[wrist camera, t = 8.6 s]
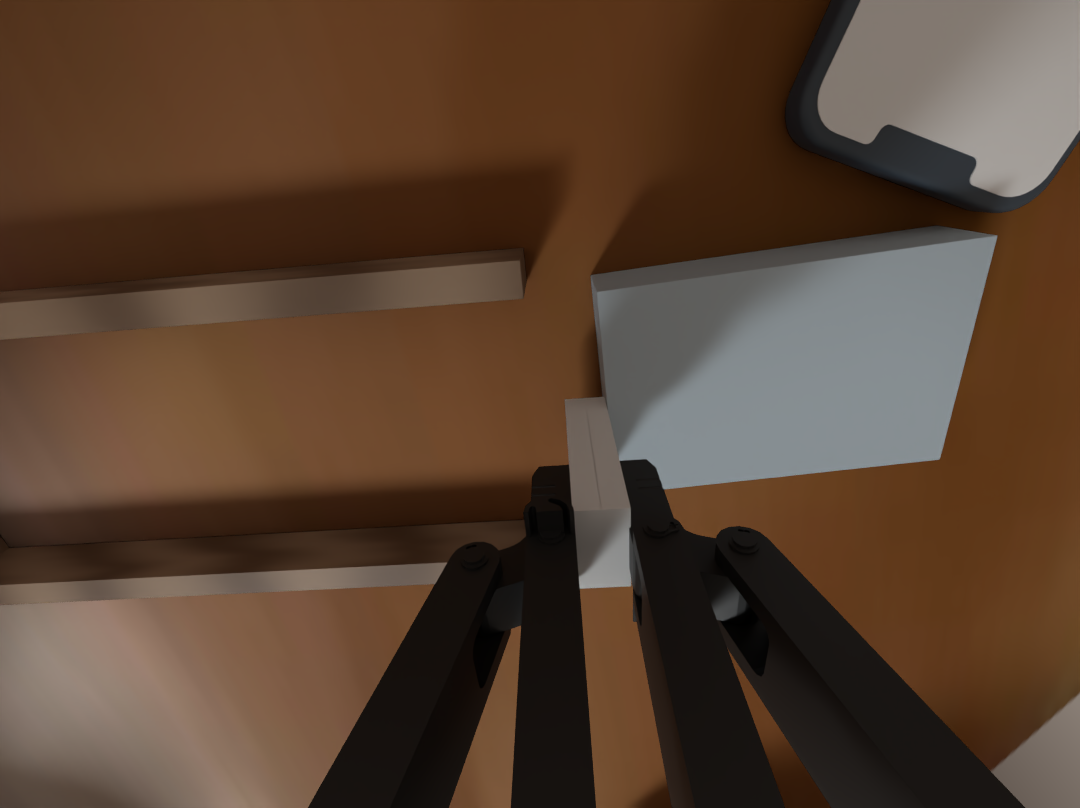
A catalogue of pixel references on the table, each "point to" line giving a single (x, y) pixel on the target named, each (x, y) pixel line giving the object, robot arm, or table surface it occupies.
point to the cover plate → (790, 355)
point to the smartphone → (944, 95)
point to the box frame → (260, 556)
